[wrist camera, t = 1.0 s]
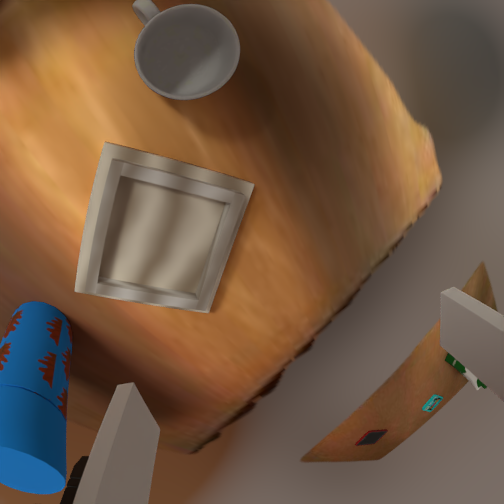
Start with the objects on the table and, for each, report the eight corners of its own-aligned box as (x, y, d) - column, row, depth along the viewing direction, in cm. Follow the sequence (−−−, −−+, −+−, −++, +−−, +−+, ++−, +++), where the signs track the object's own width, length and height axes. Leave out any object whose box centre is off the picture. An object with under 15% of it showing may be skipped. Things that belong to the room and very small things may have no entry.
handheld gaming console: (435, 395, 104) (443, 398, 112) (433, 393, 105) (442, 396, 113) (421, 410, 105) (431, 412, 113) (419, 408, 106) (429, 410, 114)
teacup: (234, 77, 37) (258, 70, 30) (160, 119, 36) (166, 119, 29) (185, -8, 30) (198, -33, 23) (106, 31, 29) (102, 11, 22)
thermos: (16, 353, 40) (-8, 486, 19) (6, 297, 36) (-46, 434, 15) (76, 359, 44) (76, 498, 23) (71, 303, 41) (54, 453, 19)
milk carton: (451, 343, 90) (491, 376, 73) (464, 336, 93) (502, 366, 76) (442, 362, 94) (479, 396, 77) (456, 354, 97) (491, 385, 80)
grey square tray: (75, 286, 40) (72, 299, 37) (105, 141, 34) (103, 143, 31) (206, 307, 49) (212, 320, 46) (250, 182, 43) (260, 187, 41)
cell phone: (373, 442, 102) (375, 443, 101) (353, 444, 95) (354, 446, 94) (387, 428, 101) (388, 430, 100) (368, 430, 93) (369, 431, 93)
